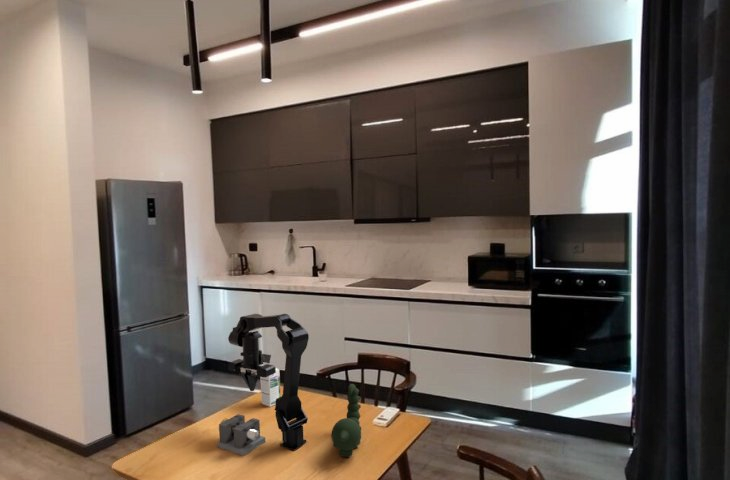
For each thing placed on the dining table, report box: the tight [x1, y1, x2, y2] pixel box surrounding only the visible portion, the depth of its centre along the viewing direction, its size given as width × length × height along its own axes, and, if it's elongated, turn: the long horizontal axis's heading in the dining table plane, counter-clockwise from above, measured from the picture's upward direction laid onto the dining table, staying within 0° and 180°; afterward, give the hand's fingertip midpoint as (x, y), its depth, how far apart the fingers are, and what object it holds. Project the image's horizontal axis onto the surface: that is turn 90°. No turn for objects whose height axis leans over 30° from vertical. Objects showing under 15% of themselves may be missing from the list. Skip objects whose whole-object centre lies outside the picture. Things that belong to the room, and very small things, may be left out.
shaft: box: [220, 418, 259, 441], centre depth 144 cm, size 15×5×5 cm, turn 60°
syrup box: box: [259, 366, 282, 408], centre depth 177 cm, size 6×6×14 cm
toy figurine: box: [331, 383, 362, 458], centre depth 141 cm, size 9×19×25 cm
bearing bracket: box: [217, 413, 266, 457], centre depth 144 cm, size 12×10×8 cm
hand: (252, 390), depth 157 cm, fingers closed
